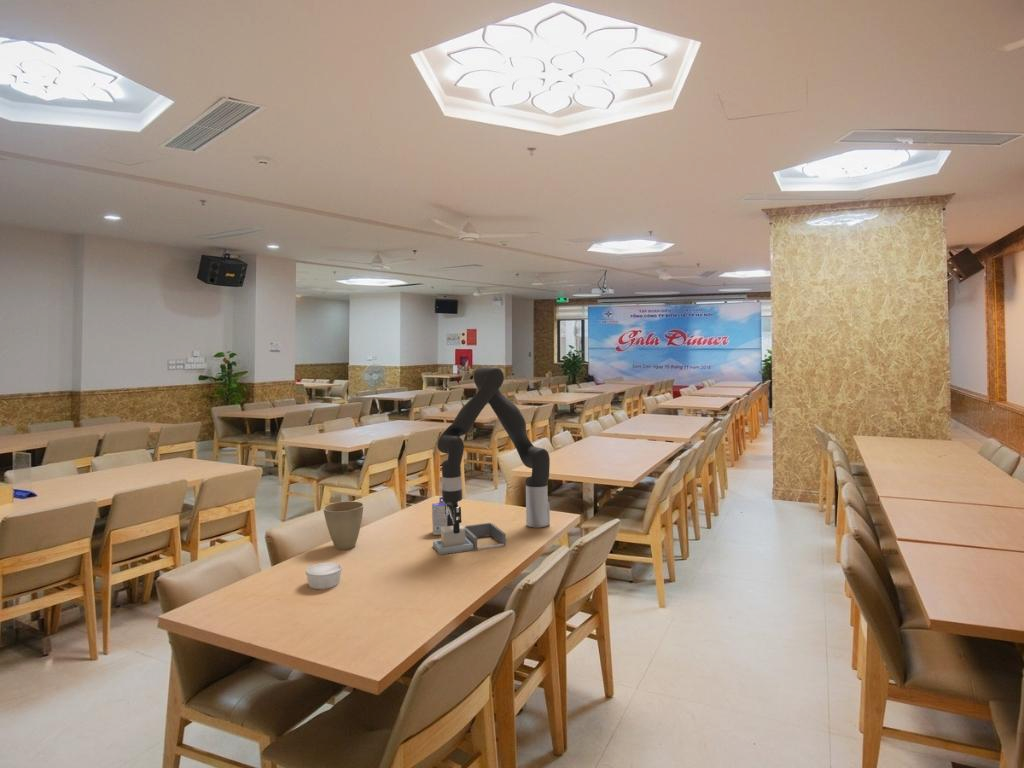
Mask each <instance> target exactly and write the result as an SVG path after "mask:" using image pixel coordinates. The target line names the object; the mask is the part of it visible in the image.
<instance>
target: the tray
mask: <svg viewBox="0 0 1024 768" xmlns="http://www.w3.org/2000/svg"><path fill="white" fill-rule="evenodd" d="M432 547H433V548H434V549H435V551H436V552H437V554H439V555H440V556H441V555H447V554H448V553H449V554H455V552H456V553H461V552H468V551H475V550H474V549H473V543H472V542H471V541H470V540H469V539H468V538H467V537H466V536H465V544H464V545H457V546H450V547H442V546H441V539H437V540H432Z"/></svg>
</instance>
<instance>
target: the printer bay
mask: <svg viewBox="0 0 1024 768" xmlns="http://www.w3.org/2000/svg"><path fill="white" fill-rule="evenodd" d="M463 527H464V528H465V536H466V537H467V538H468V539H469V540H470V541H471V542H472V543H473V549H474V550H473V551H475V550H479V551H480V550H486V549H494V548H500V547H505V546H507V541H506V538H507V536H506V535H507V534H506V532H504V531H503V530H501V528H500V527H498V526H497V525H496V524H494V523H492V522H484V523H478V524H470V525H469V524H468V525H465V526H463ZM483 537H492V538H493V539H494V540H496V541H497V542H498V543H497V544H490V545H484V546H478V538H483Z"/></svg>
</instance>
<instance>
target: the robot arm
mask: <svg viewBox="0 0 1024 768" xmlns="http://www.w3.org/2000/svg"><path fill="white" fill-rule="evenodd" d="M504 377H505V375H504V372H503V370H502V369H501V368H499V367H497V366H483V367H479V368H477V369H476V370H474V373H473V382H474V384H475V386H476V388H477V389H478V391H477V392H476V394H475V395H474V396H473V397H472V398H471V399H469V400H468V401H467V402H466V403H465V404H464V405H463V406H462V407H461V409H460V410H459V411H458V413H457V415H456V417H455V418H454V420H453V422H452V423H451V424H450V425H449V426H448V427H447V428H446V429H445V430H444V431H443V432H442V433H441V434H440V436H439V438H438V440H437V449H438V451H439V452H440V453H442V454H448V456H447V459H446V460H444V461H443V462H442V463H441V476H442V477H441V495H442V496H441V497H442V499H441V501H444V502H445V515H446V517H448V518H447V526H453V532H454V534H457V533H459V532H460V527H459V525H460V524H462V508H461V507H462V506H459V504H458V503H459V502H460V501H462V500H463V481H462V473H461V472H462V470H461V469H462V468H461V463H462V460H463V456H464V451H465V445H464V441H463V439H462V438H461V437H462V436H465V435H467V434H468V433H469V432H470V431H471V429H472V427H473V425H474V424H475V422H476V420H477V418H478V417H479V415H480V413H481V412H482V410H483V409H484V408H485V407H486V405H488V404H489V405H490V408H491V409H492V411H493V413H495V416H496V417H497V418H498V421H499V423H500V424H501V425H502V428H503V429H504V431H505V432H506V434H507V435H508V437H509V439H510V440H511V442H512V444H513V445H514V447H515V449H516V452H517V453H518V456H519V458H520V460H521V462H522V464H523V465H524V466H525V467H526V468H527V469H528V468H529V469H531V476H528V477H527V478H525V509H526V510H525V515H526V517H525V518H526V519H525V521H526V522H525V523H526V526H527V527H530V528H535V529H536V528H544V527H548V526H550V525H551V524H550V522H551V519H550V518H551V517H550V516H551V514H550V512H551V511H550V502H548V500H549V499H548V481H549V478H550V468H551V467H550V464H551V461H550V459H551V458H550V454H549V452H548V450H546V449H545V448H542V447H536V446H534V445H533V443H532V442H531V441H530V439H529V437H528V435H527V424H526V420H525V418H524V416H523V414H522V413H521V410H520V408H518V406H517V405H515V403H513V401H511V400H510V399H509V398H508V397H506V396H505V395H504V394H503V393H502V392H501V390H500V388H501V387H502V385H503V383H504V380H505V379H504ZM456 518H457V520H456Z"/></svg>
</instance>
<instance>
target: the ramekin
mask: <svg viewBox="0 0 1024 768" xmlns="http://www.w3.org/2000/svg"><path fill="white" fill-rule="evenodd" d="M342 567H343V566H342V565H341V564H340V563H338V562H332V561H329V562H319V563H315V564H312V565H310V566H308V567H307V568H306V569H305V575H306V577H307V583H308V586H309V587H310V588H311V589H313V588H314V589H313V590H327V589H331V588H333V587H335V586H337V585H338V584H339V583H340V581H341V574H342V570H343V568H342Z"/></svg>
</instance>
